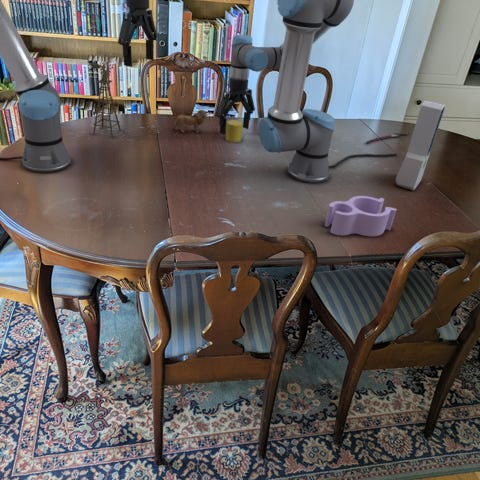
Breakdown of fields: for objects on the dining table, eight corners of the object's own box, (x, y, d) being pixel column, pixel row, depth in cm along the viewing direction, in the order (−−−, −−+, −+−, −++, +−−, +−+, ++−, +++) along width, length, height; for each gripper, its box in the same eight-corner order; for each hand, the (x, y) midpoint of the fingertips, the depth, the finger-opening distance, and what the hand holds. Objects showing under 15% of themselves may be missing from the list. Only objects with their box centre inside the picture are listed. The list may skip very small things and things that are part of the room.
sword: (404, 132, 223) (404, 129, 222) (409, 134, 221) (409, 132, 220) (360, 143, 207) (361, 141, 206) (365, 146, 205) (366, 143, 204)
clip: (337, 240, 135) (342, 219, 131) (318, 218, 145) (322, 198, 141) (395, 233, 141) (402, 213, 137) (373, 213, 151) (378, 194, 147)
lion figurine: (203, 128, 203) (204, 107, 198) (207, 132, 199) (208, 111, 194) (170, 129, 198) (170, 108, 193) (173, 133, 194) (173, 112, 189)
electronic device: (413, 191, 168) (440, 109, 151) (393, 185, 171) (417, 104, 154) (421, 180, 177) (448, 101, 161) (402, 174, 180) (426, 96, 164)
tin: (241, 142, 193) (243, 126, 189) (225, 141, 193) (227, 124, 189) (240, 136, 199) (242, 120, 195) (225, 135, 198) (226, 119, 194)
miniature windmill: (112, 137, 184) (107, 58, 168) (92, 134, 185) (85, 54, 169) (121, 130, 192) (117, 53, 176) (102, 127, 193) (96, 50, 177)
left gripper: (124, -2, 141) (127, 70, 153) (167, -6, 161) (166, 58, 172) (104, -5, 143) (108, 66, 155) (148, -9, 163) (149, 55, 175)
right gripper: (254, 72, 192) (248, 123, 203) (208, 78, 177) (205, 133, 188) (267, 77, 187) (261, 128, 199) (221, 84, 172) (218, 139, 184)
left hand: (139, 62), depth 164 cm, fingers open, 13 cm apart
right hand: (234, 130), depth 194 cm, fingers open, 12 cm apart
